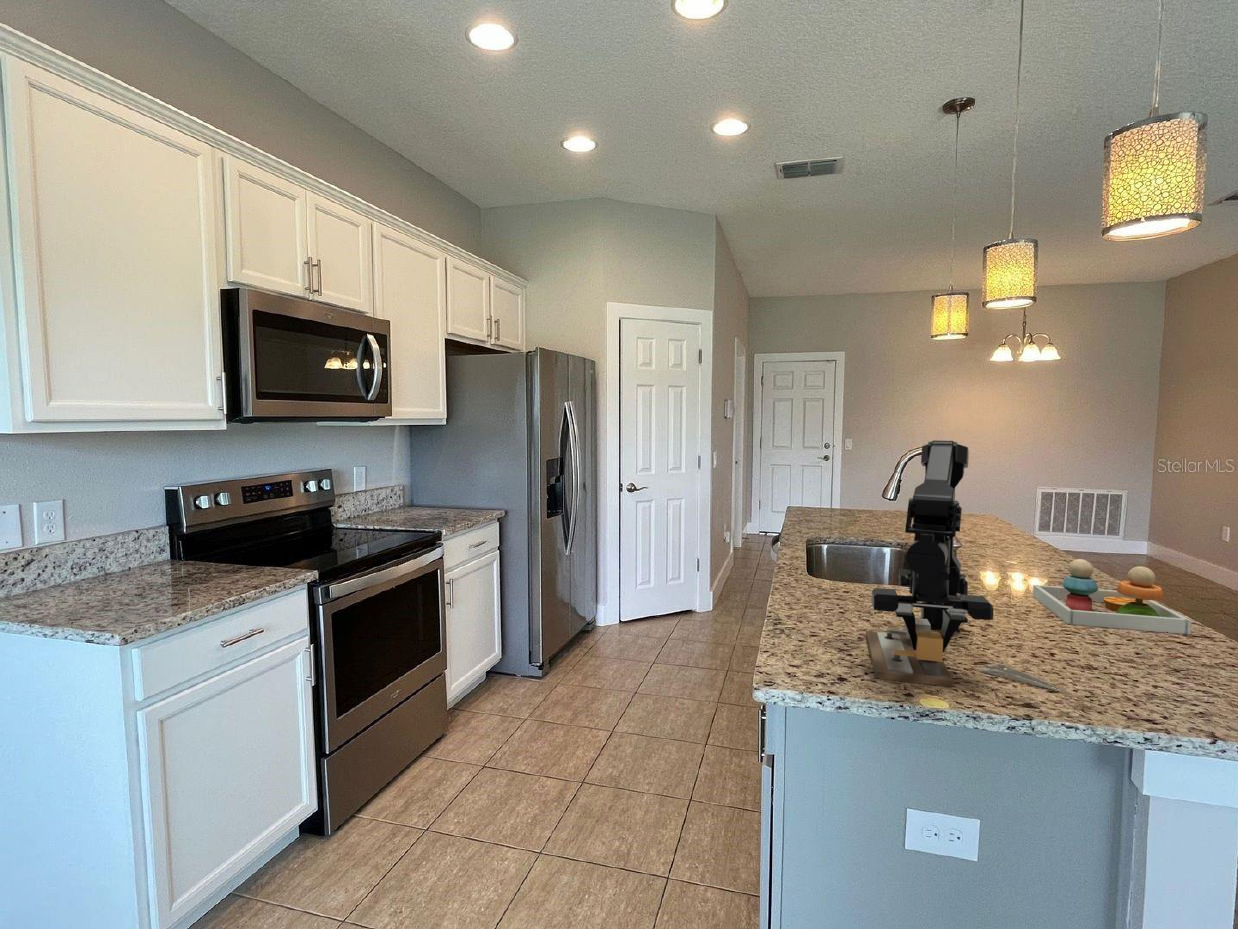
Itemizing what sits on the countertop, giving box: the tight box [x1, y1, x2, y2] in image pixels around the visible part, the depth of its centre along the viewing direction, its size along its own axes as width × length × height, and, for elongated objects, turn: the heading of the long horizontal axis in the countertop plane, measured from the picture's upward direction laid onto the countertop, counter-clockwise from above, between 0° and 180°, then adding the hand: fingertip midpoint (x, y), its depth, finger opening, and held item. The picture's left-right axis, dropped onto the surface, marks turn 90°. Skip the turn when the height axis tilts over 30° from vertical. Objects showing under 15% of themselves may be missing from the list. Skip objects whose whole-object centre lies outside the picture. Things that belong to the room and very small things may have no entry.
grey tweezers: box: [978, 663, 1072, 694], centre depth 105 cm, size 17×5×2 cm, turn 37°
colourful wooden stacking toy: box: [1061, 558, 1165, 617], centre depth 145 cm, size 18×17×12 cm
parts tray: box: [1032, 584, 1192, 635], centre depth 144 cm, size 22×23×3 cm
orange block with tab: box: [894, 630, 944, 662], centre depth 111 cm, size 8×4×5 cm, turn 72°
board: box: [865, 617, 954, 688], centre depth 116 cm, size 12×22×5 cm, turn 162°
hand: (927, 650), depth 110 cm, fingers closed on orange block with tab, 4 cm apart
